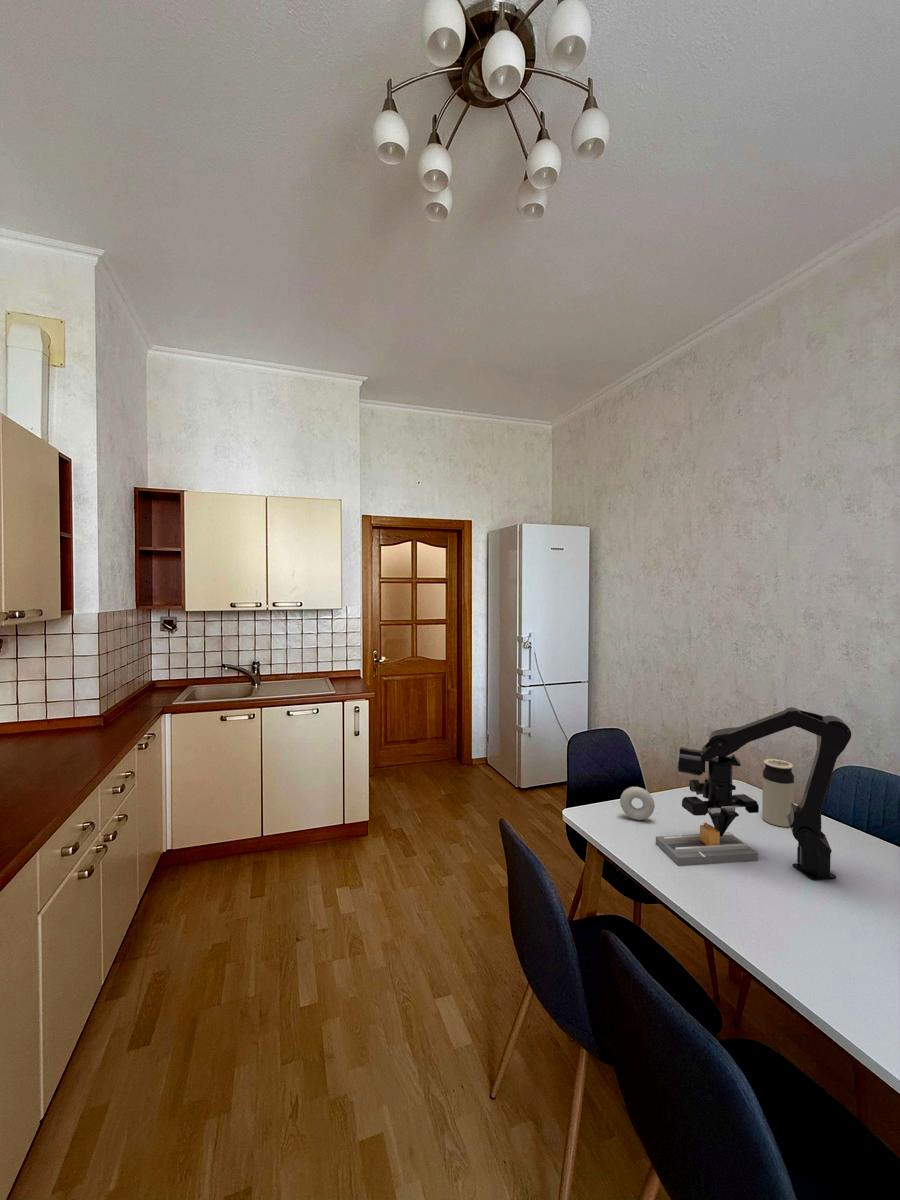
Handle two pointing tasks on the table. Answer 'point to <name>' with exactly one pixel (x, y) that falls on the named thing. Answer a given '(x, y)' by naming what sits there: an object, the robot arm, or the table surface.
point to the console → (705, 850)
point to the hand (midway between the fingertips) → (719, 835)
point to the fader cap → (709, 835)
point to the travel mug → (777, 792)
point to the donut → (643, 796)
